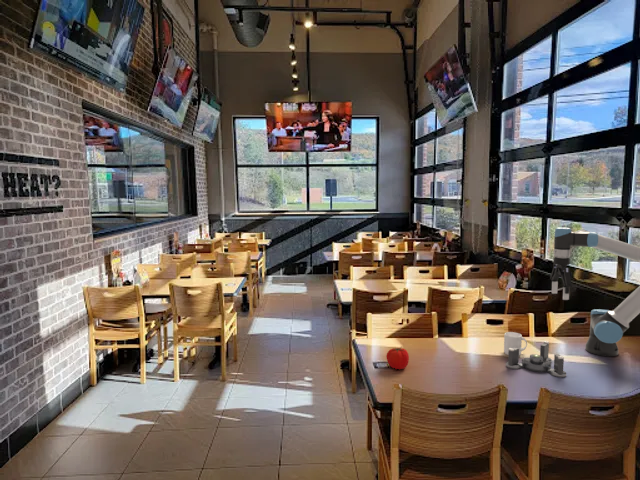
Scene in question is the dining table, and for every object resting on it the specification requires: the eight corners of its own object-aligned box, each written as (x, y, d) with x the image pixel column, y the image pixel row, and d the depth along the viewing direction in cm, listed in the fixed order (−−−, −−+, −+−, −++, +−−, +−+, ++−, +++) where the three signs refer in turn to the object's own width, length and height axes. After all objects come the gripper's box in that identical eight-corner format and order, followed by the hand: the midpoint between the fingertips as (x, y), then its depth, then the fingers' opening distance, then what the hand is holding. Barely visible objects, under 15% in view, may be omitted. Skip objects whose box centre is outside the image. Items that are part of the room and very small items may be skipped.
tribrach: (548, 358, 228) (548, 347, 227) (568, 377, 204) (569, 365, 204) (499, 357, 230) (499, 346, 230) (514, 376, 207) (514, 364, 206)
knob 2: (544, 360, 222) (544, 344, 221) (539, 359, 223) (540, 343, 222) (548, 357, 226) (549, 341, 225) (544, 355, 227) (544, 340, 226)
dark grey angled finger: (514, 361, 221) (515, 346, 220) (518, 362, 219) (519, 347, 218) (507, 364, 217) (508, 348, 216) (511, 365, 216) (512, 349, 215)
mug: (530, 356, 231) (531, 337, 230) (507, 356, 231) (508, 337, 230) (523, 350, 239) (523, 331, 238) (501, 350, 240) (501, 332, 239)
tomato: (410, 363, 224) (410, 344, 223) (407, 373, 212) (407, 353, 211) (388, 361, 227) (388, 342, 226) (384, 371, 215) (384, 351, 214)
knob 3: (553, 368, 211) (554, 352, 210) (558, 369, 211) (559, 352, 210) (558, 374, 205) (559, 357, 204) (563, 374, 205) (563, 357, 204)
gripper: (544, 253, 241) (543, 290, 243) (564, 260, 216) (563, 302, 218) (558, 253, 240) (557, 291, 242) (580, 260, 215) (578, 302, 218)
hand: (559, 296), depth 230 cm, fingers open, 13 cm apart
